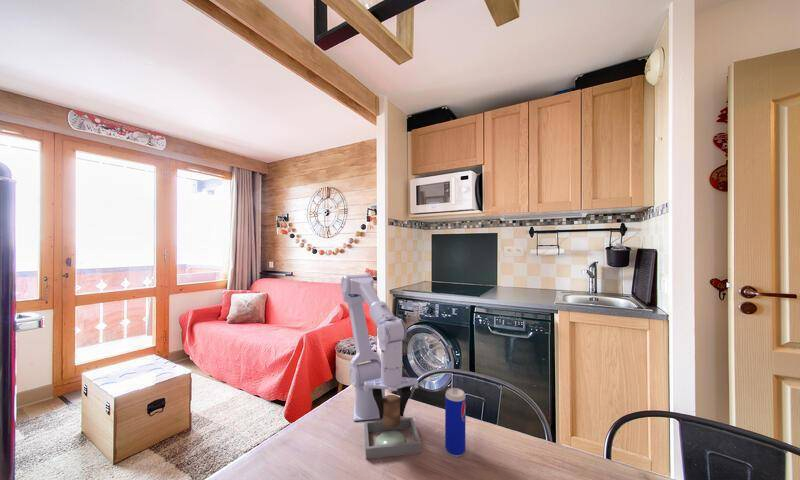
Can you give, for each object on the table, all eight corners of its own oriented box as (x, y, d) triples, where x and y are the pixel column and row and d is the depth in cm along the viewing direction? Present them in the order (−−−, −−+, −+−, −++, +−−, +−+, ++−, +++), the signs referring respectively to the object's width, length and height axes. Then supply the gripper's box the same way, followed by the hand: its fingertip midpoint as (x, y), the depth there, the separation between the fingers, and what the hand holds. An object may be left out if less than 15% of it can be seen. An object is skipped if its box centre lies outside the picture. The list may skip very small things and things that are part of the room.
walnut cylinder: (398, 415, 80) (398, 394, 80) (402, 426, 75) (402, 403, 75) (380, 417, 79) (381, 395, 79) (383, 428, 74) (383, 405, 75)
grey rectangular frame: (412, 425, 84) (412, 417, 84) (420, 452, 73) (420, 443, 73) (364, 430, 82) (364, 421, 82) (365, 459, 71) (365, 449, 71)
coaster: (402, 430, 82) (402, 429, 82) (407, 449, 74) (407, 448, 74) (375, 433, 81) (375, 431, 81) (378, 452, 73) (378, 451, 73)
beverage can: (465, 459, 71) (465, 398, 71) (444, 456, 72) (444, 396, 72) (465, 445, 76) (465, 388, 76) (445, 442, 77) (445, 386, 77)
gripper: (365, 373, 73) (364, 427, 72) (420, 369, 75) (420, 421, 75) (364, 362, 80) (363, 411, 79) (415, 358, 82) (415, 406, 82)
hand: (391, 415), depth 77 cm, fingers closed on walnut cylinder, 5 cm apart
